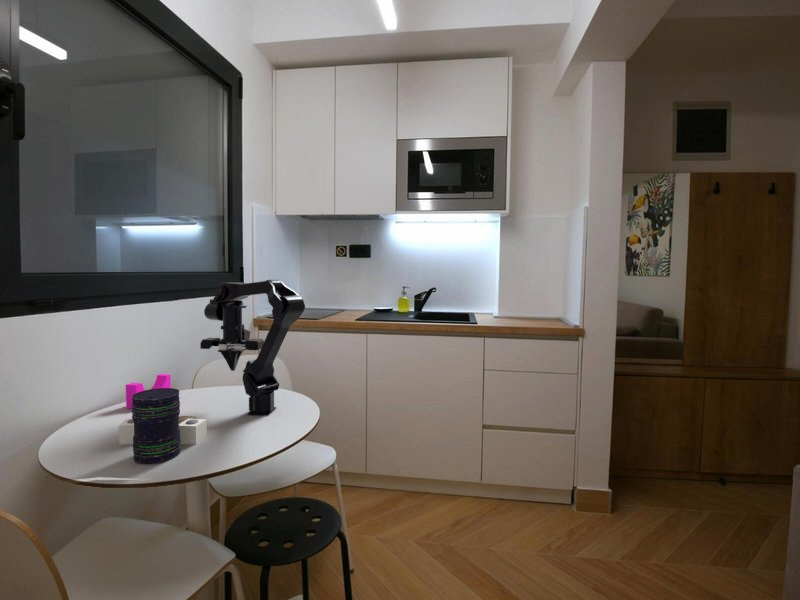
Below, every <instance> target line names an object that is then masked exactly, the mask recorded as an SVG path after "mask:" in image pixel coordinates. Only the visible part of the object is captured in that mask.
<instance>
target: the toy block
mask: <svg viewBox="0 0 800 600" xmlns="http://www.w3.org/2000/svg"><path fill="white" fill-rule="evenodd" d="M155 378H156V379H155V381H154V384H153V386H152V387H151V388H150V389H157V388H172V386H171V385H172V382H171V374H168V373H160V374H156V377H155ZM145 390H146V389H145V387H144V385H143V383H140V382H130V383H128V384H125V404H126V405H125V407H126V409H132V402H133V401H132V395H134V394H135V393H138V392H141V391H145Z"/></svg>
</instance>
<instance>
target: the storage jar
mask: <svg viewBox="0 0 800 600" xmlns="http://www.w3.org/2000/svg"><path fill="white" fill-rule="evenodd" d="M132 401H133V402H132V408H131V413H132V416H131V419H133V421H134V436H133V444H132V452H133V462H134V463H135V464H136V465H142V466H144V465H145V466H150V465H158V464H163V463H166V462H170V461H171V460H173V459H175V458H177V457H178V456H179V455H180V454H181V448H180V447H181V444H180V442H181V436H180V429H179V417H180V414H181V413H180V412H181V410H180V408H181V407H180V406H181V401H180V390H179V389H177V388H172V387H171V388H157V389H151V388H149V389H145V391H141V392H138V393H135V394H134V395H132Z"/></svg>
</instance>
